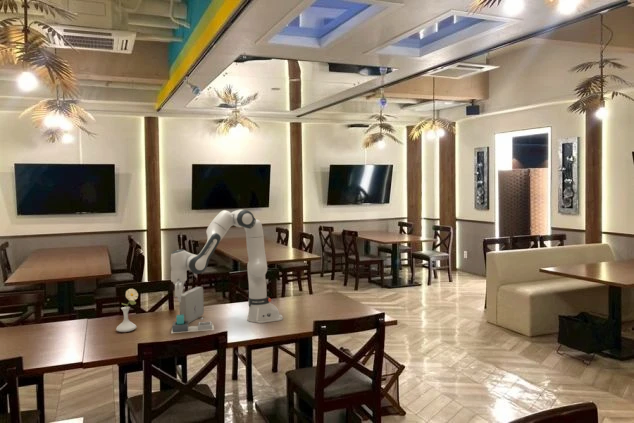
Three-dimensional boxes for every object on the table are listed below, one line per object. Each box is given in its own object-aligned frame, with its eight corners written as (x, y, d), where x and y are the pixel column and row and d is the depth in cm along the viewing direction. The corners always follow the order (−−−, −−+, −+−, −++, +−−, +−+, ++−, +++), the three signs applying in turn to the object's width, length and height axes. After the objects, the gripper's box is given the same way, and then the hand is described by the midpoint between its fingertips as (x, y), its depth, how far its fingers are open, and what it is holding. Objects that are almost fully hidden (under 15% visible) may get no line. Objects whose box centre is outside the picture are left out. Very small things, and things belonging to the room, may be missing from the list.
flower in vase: (118, 334, 284) (116, 292, 283) (114, 330, 294) (112, 288, 293) (141, 330, 291) (139, 289, 290) (137, 326, 301) (135, 286, 300)
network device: (189, 328, 295) (188, 295, 294) (176, 327, 297) (174, 294, 296) (207, 316, 320) (206, 286, 319) (194, 316, 322) (193, 286, 321)
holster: (212, 325, 295) (211, 321, 295) (212, 329, 287) (212, 325, 287) (198, 326, 293) (198, 322, 293) (198, 330, 285) (197, 326, 285)
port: (188, 327, 292) (188, 320, 292) (187, 331, 284) (187, 324, 283) (173, 328, 290) (173, 321, 290) (172, 332, 282) (172, 325, 282)
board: (213, 327, 296) (213, 324, 296) (214, 332, 286) (213, 329, 286) (172, 330, 291) (172, 327, 291) (171, 335, 280) (171, 333, 280)
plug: (184, 328, 289) (183, 314, 289) (184, 330, 285) (183, 316, 285) (177, 329, 288) (176, 314, 288) (176, 331, 284) (176, 316, 284)
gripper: (183, 280, 276) (184, 305, 276) (185, 274, 296) (185, 297, 296) (172, 281, 274) (172, 305, 275) (174, 275, 294) (174, 297, 295)
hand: (179, 301), depth 286 cm, fingers closed
